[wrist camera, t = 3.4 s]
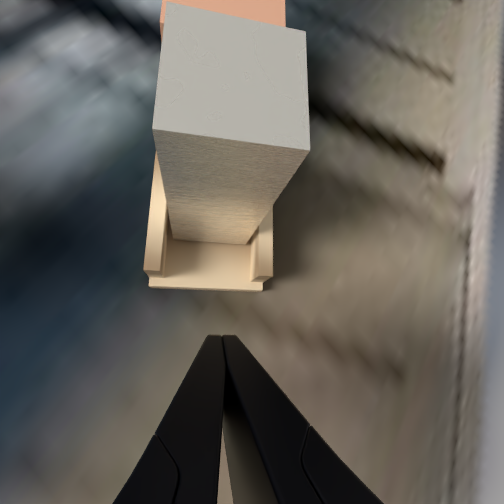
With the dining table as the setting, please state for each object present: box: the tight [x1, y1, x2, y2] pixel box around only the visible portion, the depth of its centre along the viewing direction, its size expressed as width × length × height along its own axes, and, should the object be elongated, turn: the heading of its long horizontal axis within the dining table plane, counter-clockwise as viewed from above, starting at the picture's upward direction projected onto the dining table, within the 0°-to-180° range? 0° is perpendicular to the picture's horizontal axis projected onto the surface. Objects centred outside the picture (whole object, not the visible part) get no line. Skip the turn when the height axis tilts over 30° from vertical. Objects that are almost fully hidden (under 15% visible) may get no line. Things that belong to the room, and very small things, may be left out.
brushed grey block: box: [152, 1, 310, 245], centre depth 14 cm, size 9×4×10 cm, turn 179°
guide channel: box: [143, 151, 273, 292], centre depth 19 cm, size 19×7×3 cm, turn 179°
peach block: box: [160, 0, 285, 39], centre depth 19 cm, size 6×7×5 cm
